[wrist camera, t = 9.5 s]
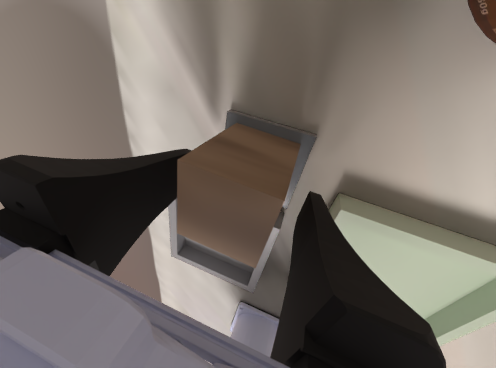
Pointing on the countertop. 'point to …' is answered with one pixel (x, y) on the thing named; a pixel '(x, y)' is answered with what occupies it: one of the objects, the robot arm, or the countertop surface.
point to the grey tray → (219, 255)
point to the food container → (485, 16)
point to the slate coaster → (283, 132)
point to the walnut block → (234, 190)
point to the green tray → (424, 266)
